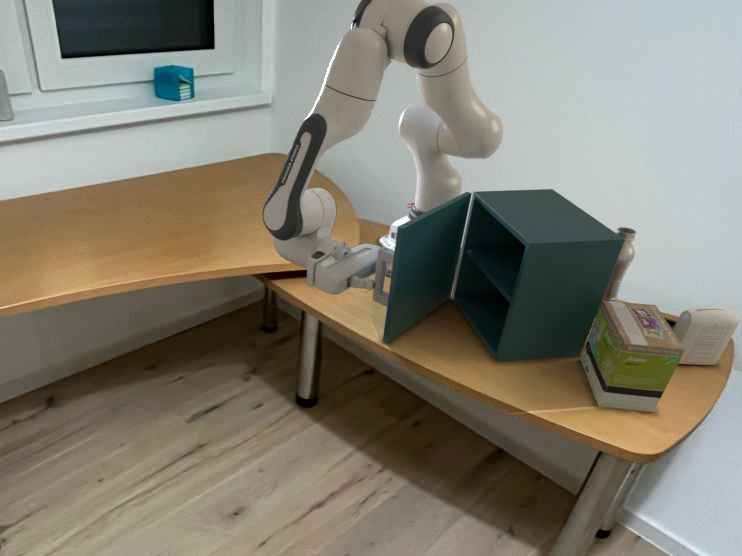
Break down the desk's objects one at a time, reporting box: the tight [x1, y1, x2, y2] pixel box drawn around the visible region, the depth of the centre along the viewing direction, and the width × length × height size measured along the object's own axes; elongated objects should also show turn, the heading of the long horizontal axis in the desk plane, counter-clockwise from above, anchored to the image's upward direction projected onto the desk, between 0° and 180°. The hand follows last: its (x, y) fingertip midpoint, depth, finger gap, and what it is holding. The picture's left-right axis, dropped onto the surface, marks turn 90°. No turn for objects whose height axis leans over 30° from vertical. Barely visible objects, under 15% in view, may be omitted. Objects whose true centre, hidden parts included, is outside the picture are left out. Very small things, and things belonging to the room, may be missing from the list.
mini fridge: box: [451, 188, 625, 363], centre depth 120 cm, size 18×26×26 cm
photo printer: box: [672, 306, 740, 366], centre depth 113 cm, size 10×4×12 cm, turn 88°
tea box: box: [580, 300, 685, 413], centre depth 105 cm, size 15×10×15 cm, turn 169°
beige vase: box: [597, 226, 637, 313], centre depth 127 cm, size 6×7×20 cm
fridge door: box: [372, 191, 473, 343], centre depth 123 cm, size 7×26×26 cm, turn 137°
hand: (384, 280), depth 118 cm, fingers open, 6 cm apart
